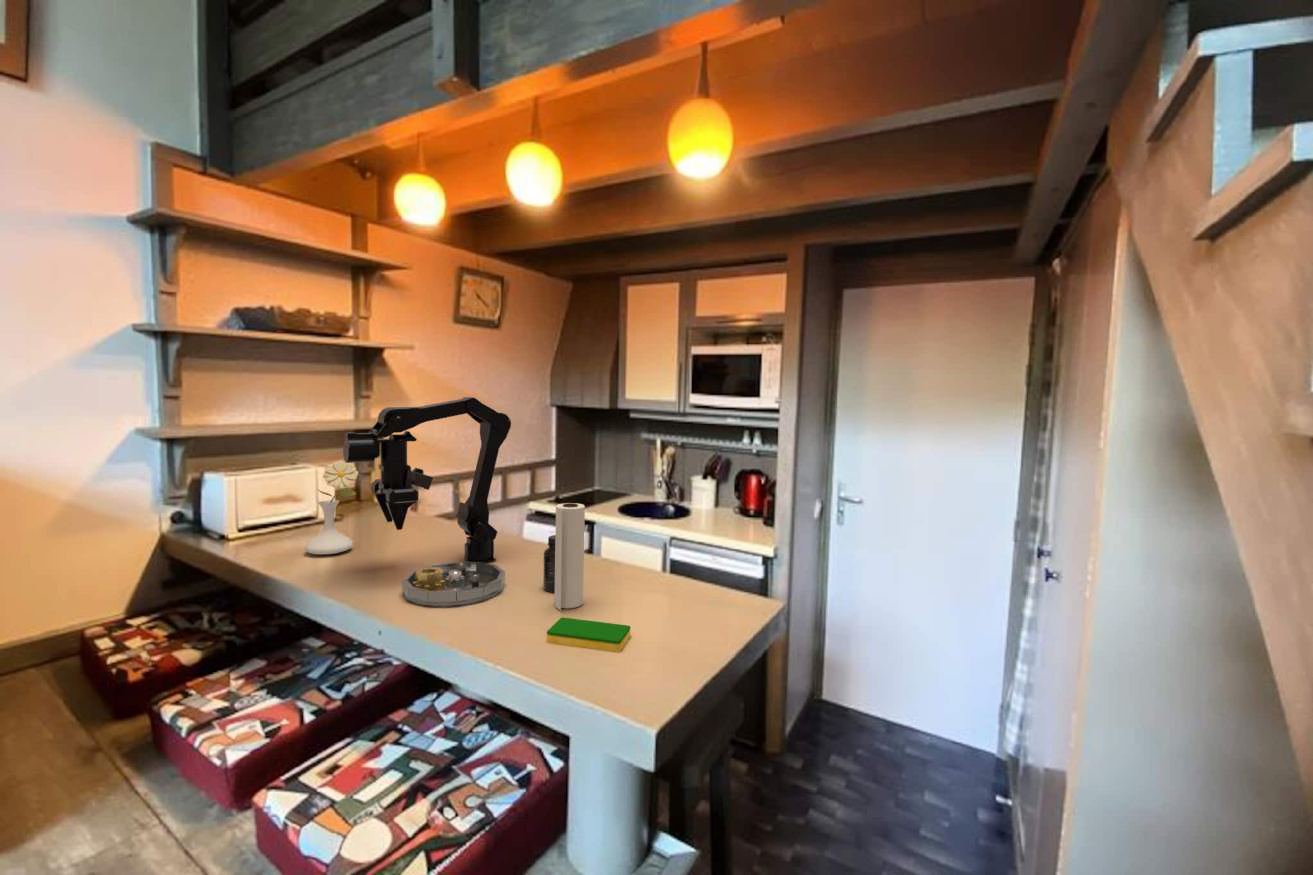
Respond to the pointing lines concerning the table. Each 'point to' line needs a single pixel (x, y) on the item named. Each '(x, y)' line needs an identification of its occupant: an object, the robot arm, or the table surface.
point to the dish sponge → (589, 634)
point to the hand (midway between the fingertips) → (394, 525)
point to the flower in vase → (333, 510)
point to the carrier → (457, 585)
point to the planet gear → (429, 579)
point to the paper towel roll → (569, 555)
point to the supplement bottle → (549, 566)
